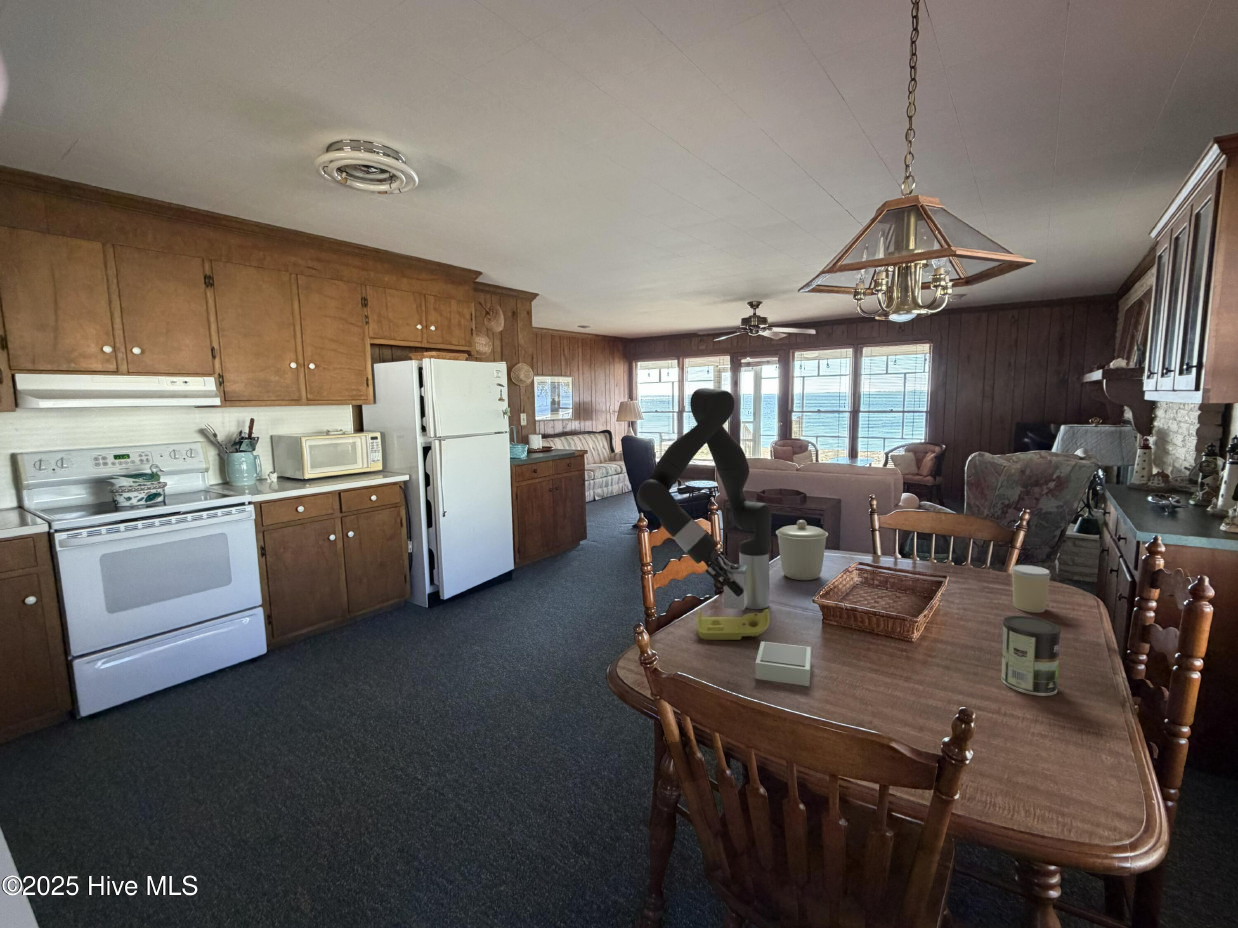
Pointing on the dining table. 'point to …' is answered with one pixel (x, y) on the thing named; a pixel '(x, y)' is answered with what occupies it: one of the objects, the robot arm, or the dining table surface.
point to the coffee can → (1030, 655)
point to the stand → (784, 663)
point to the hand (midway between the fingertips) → (742, 590)
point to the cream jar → (1030, 588)
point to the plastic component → (732, 626)
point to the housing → (740, 578)
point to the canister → (801, 550)
